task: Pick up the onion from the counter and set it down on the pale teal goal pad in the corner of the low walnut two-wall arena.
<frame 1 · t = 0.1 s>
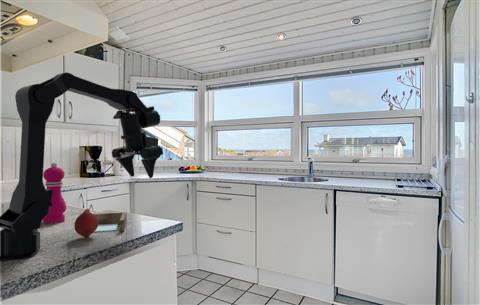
hand: (141, 177, 95), 15 cm above the worktop, tool pointing down, fingers open, 9 cm apart
onion: (86, 238, 79), on the worktop
pepper mill: (53, 222, 96), on the worktop
arena: (106, 228, 88), on the worktop
goal pad: (103, 228, 88), on the worktop
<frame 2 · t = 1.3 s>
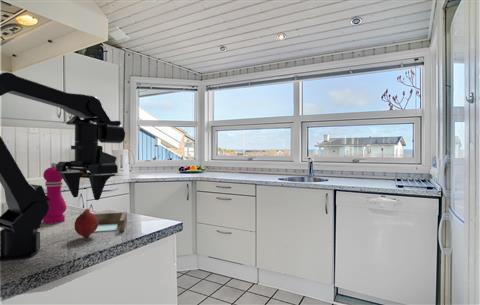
hand: (86, 198, 79), 11 cm above the worktop, tool pointing down, fingers open, 9 cm apart
nothing on the worktop moved.
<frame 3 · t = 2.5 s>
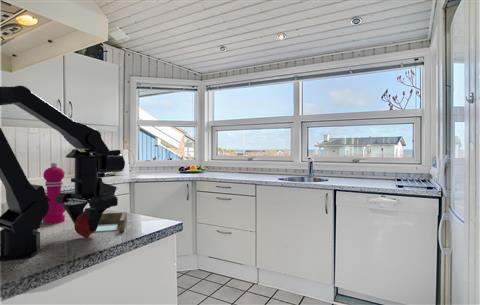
hand: (86, 230, 79), 2 cm above the worktop, tool pointing down, fingers closed on onion, 6 cm apart
onion: (86, 238, 79), on the worktop, touching gripper
everything else where it was.
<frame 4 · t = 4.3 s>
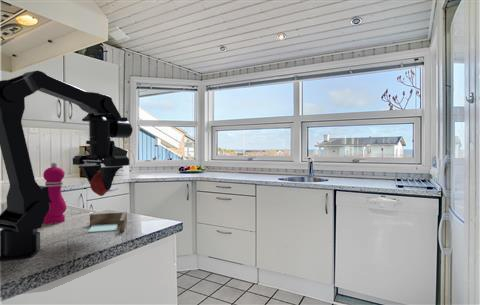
hand: (101, 189, 86), 13 cm above the worktop, tool pointing down, fingers closed on onion, 6 cm apart
onion: (101, 196, 86), point 10 cm above the worktop, touching gripper
everything else where it was.
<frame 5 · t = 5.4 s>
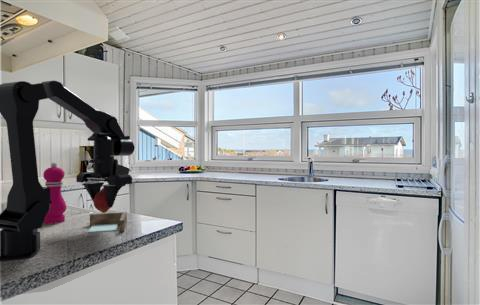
hand: (103, 206, 88), 7 cm above the worktop, tool pointing down, fingers closed on onion, 6 cm apart
onion: (103, 213, 88), point 5 cm above the worktop, touching gripper
everything else where it was.
when the fingers open (4 cm above the worktop, at t = 6.4 s): onion drops 1 cm, resting on goal pad.
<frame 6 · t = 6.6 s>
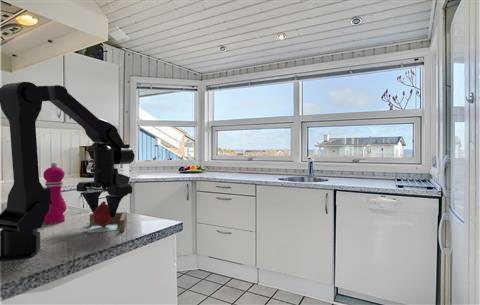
hand: (103, 215, 88), 4 cm above the worktop, tool pointing down, fingers open, 8 cm apart
onion: (103, 227, 88), resting on goal pad
everything else where it was.
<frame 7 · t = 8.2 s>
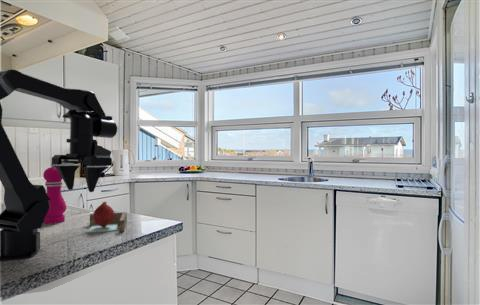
hand: (80, 190, 80), 13 cm above the worktop, tool pointing down, fingers open, 9 cm apart
nothing on the worktop moved.
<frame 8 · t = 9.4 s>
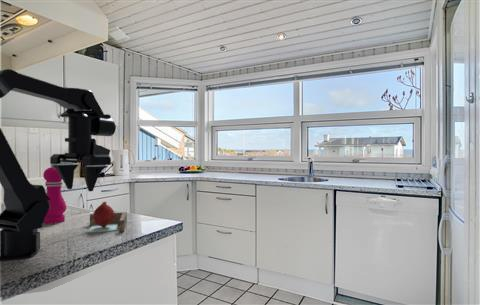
hand: (80, 190, 80), 13 cm above the worktop, tool pointing down, fingers open, 9 cm apart
nothing on the worktop moved.
at the end: onion inside the target area on the goal pad (0.1 cm from its centre), point 0.1 cm above the goal pad's base; the gripper is holding nothing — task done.
